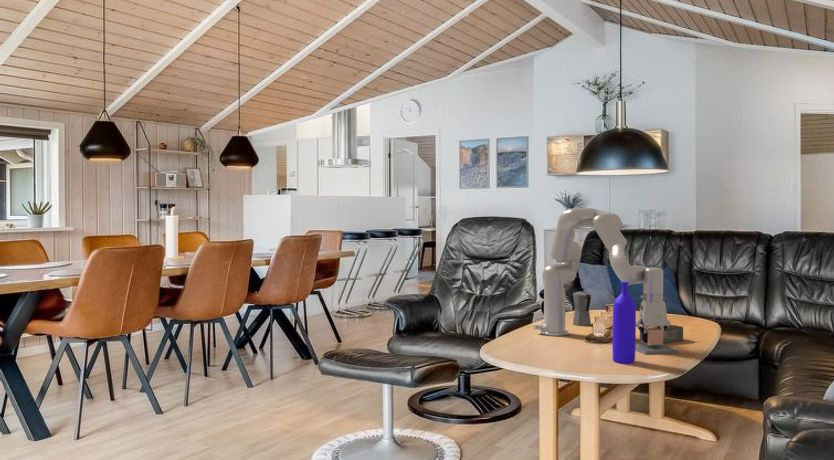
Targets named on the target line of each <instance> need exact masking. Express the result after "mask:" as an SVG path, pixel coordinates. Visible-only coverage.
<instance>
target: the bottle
mask: <svg viewBox="0 0 834 460" xmlns="http://www.w3.org/2000/svg"><path fill="white" fill-rule="evenodd" d="M620 284H621V293H620V294H619V295H618V296H617V297H616V298H615V300H614V301H613V307H612V308H613V310H612V361H613V362H614V363H617V364H624V365H627V364H628V365H630V364H634V363H635V360H636V350H635V346H636V344H637V343H636V340H637V339H636V338H637V334H636V332H637V327H636V321H637V312H636V311H637V310H636V309H637V307H636V302H635V300H634V299H633V297H632V296H631V295H630V294H629V292H628V291H629V290H628V286H629V285H628V284H629V282H622V281H620Z"/></svg>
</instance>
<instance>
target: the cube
mask: <svg viewBox="0 0 834 460" xmlns="http://www.w3.org/2000/svg"><path fill="white" fill-rule="evenodd" d="M646 333H648V336H647V343H645V344H648V345H663V344H664V343H663V330H662V329H660V328H657V327H648V330H647V332H646ZM642 343H644V342H642Z"/></svg>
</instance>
